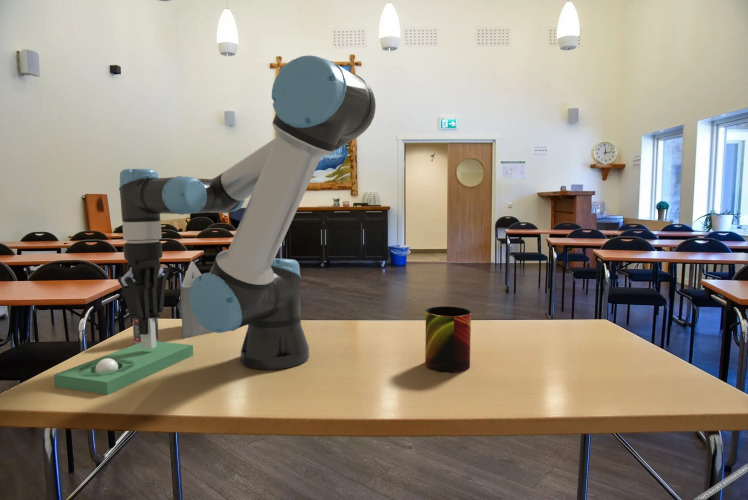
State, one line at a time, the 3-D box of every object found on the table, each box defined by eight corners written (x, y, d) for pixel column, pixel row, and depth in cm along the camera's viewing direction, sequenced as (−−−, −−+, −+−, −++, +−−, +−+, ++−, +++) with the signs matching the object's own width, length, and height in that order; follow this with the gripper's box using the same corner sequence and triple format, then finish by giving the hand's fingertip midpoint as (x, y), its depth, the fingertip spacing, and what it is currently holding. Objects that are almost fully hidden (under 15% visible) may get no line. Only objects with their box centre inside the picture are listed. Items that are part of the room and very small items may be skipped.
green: (147, 349, 116) (147, 340, 115) (193, 355, 112) (192, 345, 111) (54, 386, 93) (53, 374, 93) (107, 394, 89) (106, 382, 89)
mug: (458, 351, 114) (459, 302, 113) (475, 372, 101) (477, 316, 99) (418, 353, 113) (418, 302, 112) (430, 374, 100) (430, 317, 98)
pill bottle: (133, 346, 119) (131, 306, 118) (134, 339, 124) (132, 302, 123) (158, 343, 121) (156, 304, 120) (158, 337, 126) (157, 300, 125)
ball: (114, 383, 96) (125, 365, 99) (104, 375, 93) (116, 357, 96) (97, 379, 97) (109, 361, 100) (87, 371, 94) (99, 353, 96)
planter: (212, 338, 125) (210, 264, 123) (182, 338, 125) (178, 264, 123) (230, 322, 142) (228, 257, 140) (203, 322, 141) (200, 257, 139)
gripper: (149, 238, 112) (155, 338, 114) (104, 243, 99) (111, 355, 101) (177, 239, 110) (182, 340, 112) (134, 244, 97) (141, 357, 99)
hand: (148, 347), depth 107 cm, fingers closed
